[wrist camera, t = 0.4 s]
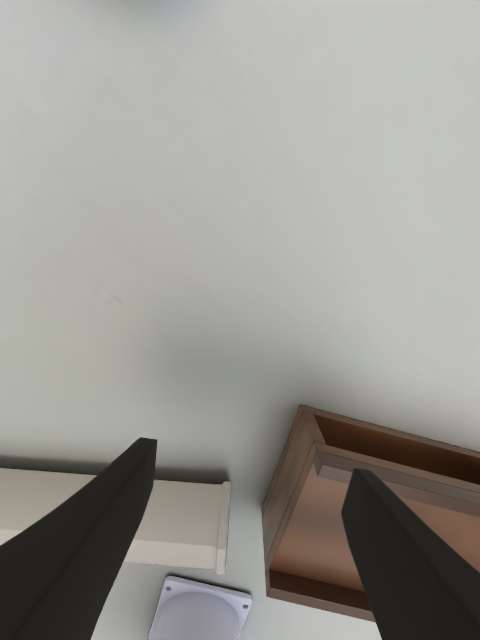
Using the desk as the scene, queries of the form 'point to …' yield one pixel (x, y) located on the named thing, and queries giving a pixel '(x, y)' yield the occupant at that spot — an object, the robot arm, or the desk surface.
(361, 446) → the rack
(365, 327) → the desk surface
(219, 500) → the tube
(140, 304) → the desk surface
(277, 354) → the desk surface
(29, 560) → the robot arm
